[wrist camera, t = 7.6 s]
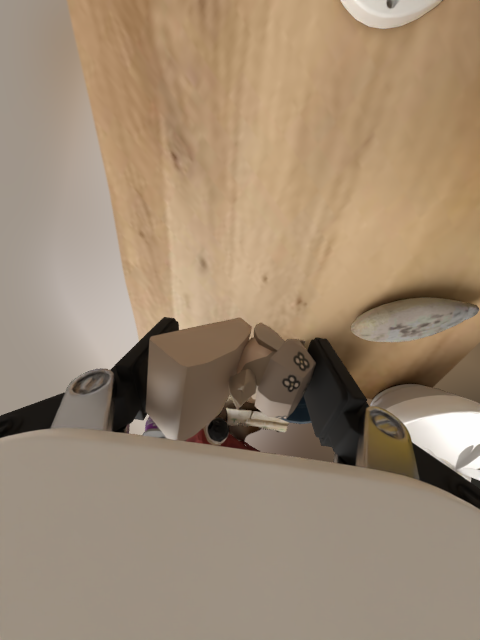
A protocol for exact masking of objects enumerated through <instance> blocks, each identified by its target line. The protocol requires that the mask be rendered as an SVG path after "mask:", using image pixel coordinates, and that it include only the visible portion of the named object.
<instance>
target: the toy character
mask: <svg viewBox="0 0 480 640" xmlns="http://www.w3.org/2000/svg"><path fill="white" fill-rule="evenodd" d="M250 333H251V326H250V325H249V324H247V323H246V322H245V321H244V320H243V319H241V318H236V319H231V320H226V321H221V322H217V323H212V324H207V325H202V326H197V327H192V328H188V329H183V330H179V331H174V332H169V333H165V334H160V335H156V336H151V338H150V340H149V358H148V376H147V395H146V412H147V414H148V415H149V416H150V417H151V419H152V420H153V421H154V422H155V424H156V425H157V426H158V428H159V429H160V430H161V431H162V433H163V434H164V435H165V437H166V438H167V439H172V440H179V441H185V440H187V439H189V438H191V437H193V436H194V435H195V434H197V433H198V432H199V431H200V430H201V429H202V428H204V427H205V426H206V425H207V424H208V423H209V422H210V421H212V420H213V419H214V418H215V417H216V416H217V415H219V414H220V413H221V411H222V409H223V407H224V405H225V403H226V401H227V399H228V397H229V395H230V397H231V399H232V400H233V402H234V404H235V406H236V408H237V410H238V409H239V408H240V407H241V406H242V405H243V404H244V403H245V402H246V401H247V402H249V403H255V407H256V408H257V409H258V410H260V411H261V412H262V413H264V414H265V415H266V416H267V417H272V418H284V419H286V418H287V417H288V416H290V415H291V414H292V413H293V412H294V410H295V408H296V407H297V405H298V403H299V402H300V400H301V398H302V397H303V395H304V393H305V391H306V389H307V387H308V385H309V382H310V380H311V378H312V374H313V371H314V368H315V365H316V362H315V361H314V359H313V358H312V357H311V355H310V354H309V353H308V351H307V350H306V349H305V347H304V345H305V341H304V340H299V339H287V340H286V341H284V340H283V339H282V338H281V337H280V336H279V335H278V334H277V333H276V332H275V331H274V330H272V329H271V328H270V327H268V326H266V325H264V324H262V323H259V324H257V325H256V327H255V329H254V338H251V339H250V340H249V337H250Z"/></svg>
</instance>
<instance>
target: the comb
mask: <svg viewBox="0 0 480 640" xmlns="http://www.w3.org/2000/svg"><path fill="white" fill-rule="evenodd" d="M226 410H227V415H228V419H227V422H226V423H227V424H228V425H235V426H237V423H238V426H239V423H241V422H242V426H243V422H244V426H245V423H246V425H247V427H248V425H250V426H256V427H259V428H262V427H263V429H264V428H265V429H269V430H270V429H272V430H274V429H275V430H277V431H281V432H285V431H286V430H287V425H288V424H289V422H286V421H284V420H281V419H279V418H272V417H267V416H266V415H265V414H264V413H262V412H260V413H259V412H256V411H254V412H253V413H251V410H248V411H249V412H248V411H247V410H241V411H240V410H239V409H238V410H237V409H229V408H226Z"/></svg>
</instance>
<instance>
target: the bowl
mask: <svg viewBox="0 0 480 640" xmlns="http://www.w3.org/2000/svg"><path fill="white" fill-rule="evenodd" d="M370 406H376V407H380V408H383V409H385V410H387V411H389V412H390V413H392V414H393V415H395V416H396V417H397V418H398V419H399V420H400V421H401V422H402V423H403V424H404V425H405V426H406V428H407V429H408V431H409V433H410V436H411V441H412V442H413V443H414V444H416V445H417V446H418V447H425V448H427V449H430V450H431V451H432V452H433V453H434V454H435V456H437V457H439V458H442V459H444V460H446V461H448V462H449V463H450V464H452V465H454V466H455V467H456V463H457V460H458V456H459V455H460V453H461V452H462V451H463V450H464V449H465V448H467V447H469V446H472V445H474V447H473V449H474V448H475V447H476V446H477V445H478V444H480V404H479V403H477V402H475V401H473V400H470V399H467V398H464V397H461V396H458V395H456V394H452V393H448V392H445V391H443V390H440V389H436V388H431V387H426V386H423V385H418V384H404V385H398V386H394V387H391V388H389V389H386V390H384V391H382V392H381V393H379V394H378V395H377V396H376V397H375V398H374V399H373V400H372V402H371V405H370ZM473 449H472V450H473ZM439 461H441V460H439ZM462 468H472V469H478V468H480V456H479V457H478V458H476V459H475V460H473V461H472V462H471V463H469V464H468V465H466V466H464V467H462ZM462 468H460V469H462Z"/></svg>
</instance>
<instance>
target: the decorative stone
mask: <svg viewBox="0 0 480 640" xmlns="http://www.w3.org/2000/svg"><path fill="white" fill-rule="evenodd" d="M478 311H479V308H478V307H477V305H474V304H470V303H463V302H461V301H455V300H449V299H441V298H429V297H426V298H425V297H423V298H412V299H405V300H399V301H395V302H391V303H388V304H384V305H381V306H379V307H376V308H373V309H371V310H369V311H367V312H365V313H364V314H362V315H360V316H359V317H358V318H357V319H356V320H355V321H354V322H353V324H352V326H351V331H352V332H353V333H354V334H355V335H356V336H358V337H360V338H362V339H365V340H369V341H376V342H402V341H411V340H415V339H420V338H424V337H427V336H431V335H434V334H436V333H439V332H441V331H443V330H446V329H448V328H451V327H453V326H455V325H457V324H459V323H461V322H463V321H464V320H466V319H469V318H471V317H473V316H475V315H476V314H477V313H478Z"/></svg>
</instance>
